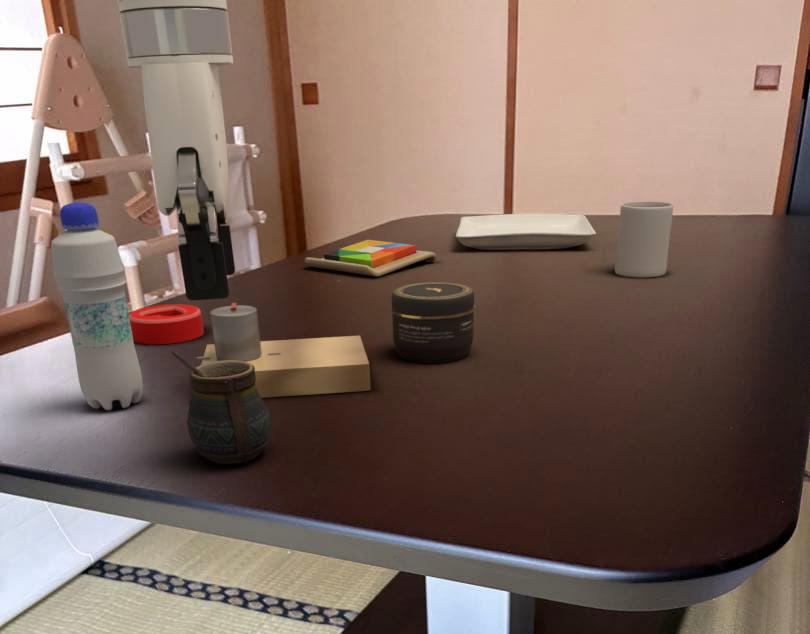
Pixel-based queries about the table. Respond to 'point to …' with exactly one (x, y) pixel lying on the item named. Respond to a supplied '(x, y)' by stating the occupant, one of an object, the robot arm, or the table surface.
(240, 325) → the cylinder
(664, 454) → the table surface
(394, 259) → the wooden puzzle
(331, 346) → the wooden peg base
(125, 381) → the bottle
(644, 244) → the mug
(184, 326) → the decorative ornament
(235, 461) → the mate gourd
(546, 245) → the square plate
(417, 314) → the jar
